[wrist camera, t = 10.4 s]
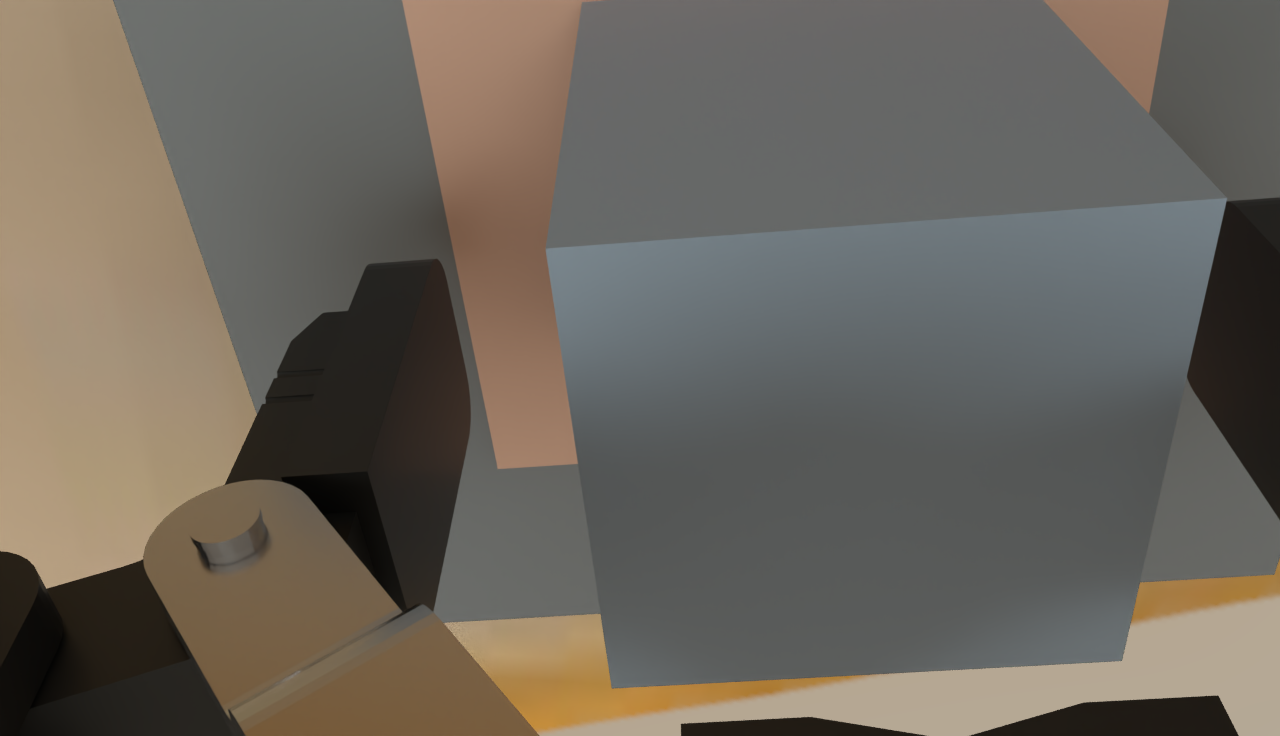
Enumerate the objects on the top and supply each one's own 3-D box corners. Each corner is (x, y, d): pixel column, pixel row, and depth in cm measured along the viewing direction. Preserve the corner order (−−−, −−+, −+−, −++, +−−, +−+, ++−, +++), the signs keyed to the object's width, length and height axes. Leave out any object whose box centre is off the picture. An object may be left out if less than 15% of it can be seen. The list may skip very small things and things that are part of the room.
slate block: (1010, -35, 13) (1228, 197, 8) (975, 328, 16) (1121, 661, 11) (582, 2, 14) (545, 249, 9) (622, 351, 16) (611, 687, 11)
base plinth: (1495, -679, 12) (1706, -741, 10) (1207, 467, 21) (1279, 583, 19) (53, -516, 13) (-84, -537, 11) (363, 519, 22) (328, 637, 20)
